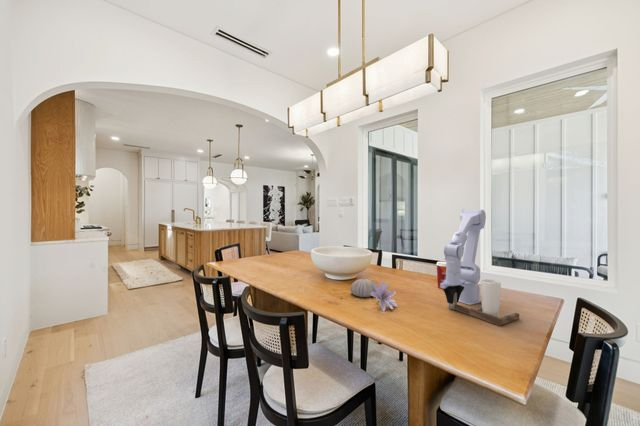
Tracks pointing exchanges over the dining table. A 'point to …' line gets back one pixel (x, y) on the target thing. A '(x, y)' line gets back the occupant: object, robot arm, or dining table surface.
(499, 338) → the dining table surface
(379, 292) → the water lily
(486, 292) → the drinking glass
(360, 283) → the sea urchin shell
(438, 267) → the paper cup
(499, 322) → the sliding frame
